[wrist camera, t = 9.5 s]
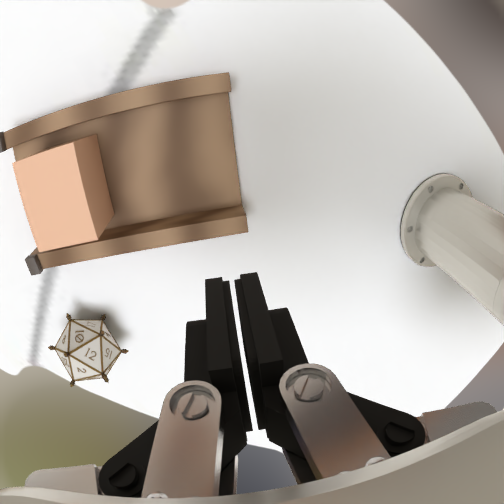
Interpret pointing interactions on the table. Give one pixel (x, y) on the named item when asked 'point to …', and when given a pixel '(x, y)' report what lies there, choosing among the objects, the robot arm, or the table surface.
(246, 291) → the robot arm
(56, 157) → the block
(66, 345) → the game die
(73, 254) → the chute
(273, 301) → the table surface
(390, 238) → the table surface
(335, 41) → the table surface
